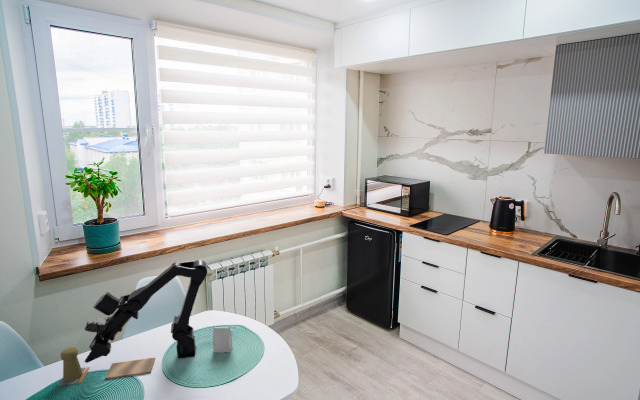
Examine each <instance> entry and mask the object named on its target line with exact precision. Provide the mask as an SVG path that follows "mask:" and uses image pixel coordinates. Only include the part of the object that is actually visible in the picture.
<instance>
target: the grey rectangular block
mask: <svg viewBox="0 0 640 400" xmlns="http://www.w3.org/2000/svg"><path fill="white" fill-rule="evenodd" d="M231 331H232V330H231V327H219V326H218V327H215V326H213V329H212V350H213V351H212V352H213V353H224V352H230V353H231V351H232V349H233V334H232V332H231ZM231 348H232V349H231ZM230 350H231V351H230Z"/></svg>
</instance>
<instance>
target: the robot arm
mask: <svg viewBox="0 0 640 400" xmlns="http://www.w3.org/2000/svg"><path fill="white" fill-rule="evenodd" d="M207 266H208V265H207V263H206V261H205V260H203V259H196V260H188V261H181V262H180V261H178V262H177V261H176V262H173V263H172V264H171V265H170V266H169V267H168V268H166V269H165V270H164V271H162V272H161V273H160V274H159V275H157V276H156V277H155V278H153V279H152V280H151V281H150V282H149V283H147V284H146V285H145V286H141V287H139V288H137V289H135V290H134V291H132V292H131V293H130V294H125V295H122V296H120V297H119V298H117V297H116V296H114V295H112V294H111V293H110V292H109V291H107V292H106V293H105V294H103V295H101V296H100V297H99V299H98V300H97V301H96V302H95V303H94V305H93V309H94V310H97V311H98V312H100V313H101V314H103V315H105V316H108V317H107V318H102V317H101V318H100V317H95V316H89V317H88V319H87V322H86V325H85V326H84V327H85V328H84V331H86V332H91V333H96V334H95V336H94V337H93V339H92V341H91V343H90V344H89V346H88V348H89V349H90V352H89V353H88V355H87V357H86V358H85V360H84V363H86V364H88V363H90V362H93V361H94V360H97V359H99V358H102V357H107V356H109V354H110V353H111V351H112V350H111V349H112V343H111V342H113V341H115V337H116V336H117V334H118V333H121V332H122V331H123V328H124V327H125V325H126V324H127V323H128V322H129V321H130V320H131V319H132V318H133V319H136V320H138V318H139V315H140V314H139V311H140V310H142V309H143V308H144V307H145V306H146V305H147V304H148V302H149V300H150V299H151V298H152V297H153V295H155V294H157V292H158V291H160V290H161V289H162V288H163V287H164V286H166V285H167V284H168V283H170V282H171V281H172V280H174V279H175V278H176V277H177V276H178V277H179V276H180V277H184V278H189V284H188V287H187V290H186V293H185V297H184V300H183V303H182V307H181V309H180V312H179V314H178V316H176V315H174V317H173V321H172V323H171V326H170V334H172V335H171V337H172V339H173V340H175V341H176V342H177V343H176V355H177V358H178V359H185V358H192V357H195V356H196V355H197V354H196V351H197V349H198V348H197V345H196V337H195V334H194V327H192V326H191V325H189V324H190V319H191V318H190V317H191V314H192V311H193V308H194V305H195V301H196V298H197V296H198V293H199V288H200V287H201V286H202V283H203V282H204V281H205V279H206V276H207V274H208V267H207ZM111 315H112V316H111ZM109 341H111V342H109Z"/></svg>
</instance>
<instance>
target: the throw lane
mask: <svg viewBox="0 0 640 400" xmlns="http://www.w3.org/2000/svg"><path fill="white" fill-rule="evenodd" d="M155 361H156V357H147V358H141V359H136V360H135V359H134V360H127V361H120V362H113V363H111V365H110V367H109V368H108V371H107V373H106V375H105V376H104V380H111V379H112V380H113V379H118V378H125V377H131V376H139V375H144V374H145V375H147V374H151V373H152V370H153V367H154V364H155ZM81 369H82V372H83V375H82V376H81V377H80V378H79V379H77V380H75V381H72V382H65V381H63V377H62V378H61V380H60V381H59V383H58V384H57V387H63V386H70V385H76V384H81V383H82V382H83V380H84V379H85V377H86V375H88V374H87V373H88V372H89V370H90V366H87V367H81Z"/></svg>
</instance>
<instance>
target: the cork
mask: <svg viewBox="0 0 640 400" xmlns="http://www.w3.org/2000/svg"><path fill="white" fill-rule="evenodd" d="M78 355H79V350H78V348H76V347H75V346H73V347H67V348H65V349H63V350H62V351H61V353H60V359H61V360H62V361H63V362H62V363H63V367H62V369H63V370H62V374H63V375H62V378H63V381H65V382H72V381H75V380H77V379H80V378H81V376H82V375H83V373H84V372H82V369H81V368H82V367H81V364H80V361H79V357H78Z"/></svg>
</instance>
